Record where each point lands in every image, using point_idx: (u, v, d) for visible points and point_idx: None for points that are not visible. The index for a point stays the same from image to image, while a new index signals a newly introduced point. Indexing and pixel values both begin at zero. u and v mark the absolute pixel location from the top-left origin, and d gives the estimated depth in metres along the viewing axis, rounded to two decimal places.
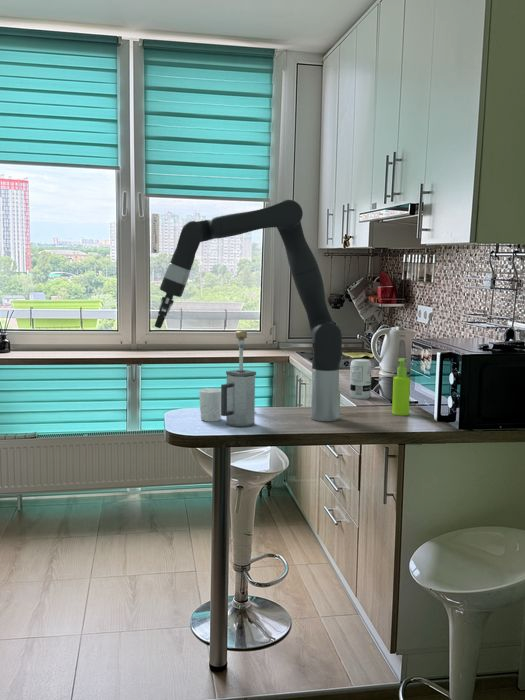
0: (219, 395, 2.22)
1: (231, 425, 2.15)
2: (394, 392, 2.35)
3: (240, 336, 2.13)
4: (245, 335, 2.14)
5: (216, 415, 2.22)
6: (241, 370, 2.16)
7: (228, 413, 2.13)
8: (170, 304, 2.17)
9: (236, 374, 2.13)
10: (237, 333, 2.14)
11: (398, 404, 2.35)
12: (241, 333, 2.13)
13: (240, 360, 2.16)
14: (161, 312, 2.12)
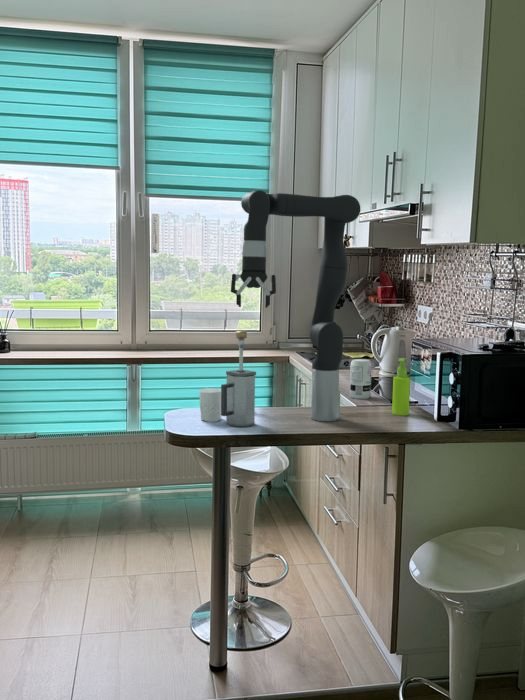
0: (219, 395, 2.22)
1: (231, 425, 2.15)
2: (394, 392, 2.35)
3: (240, 336, 2.13)
4: (245, 335, 2.14)
5: (216, 415, 2.22)
6: (241, 370, 2.16)
7: (228, 413, 2.13)
8: None
9: (236, 374, 2.13)
10: (237, 333, 2.14)
11: (398, 404, 2.35)
12: (241, 333, 2.13)
13: (240, 360, 2.16)
14: (275, 291, 2.11)
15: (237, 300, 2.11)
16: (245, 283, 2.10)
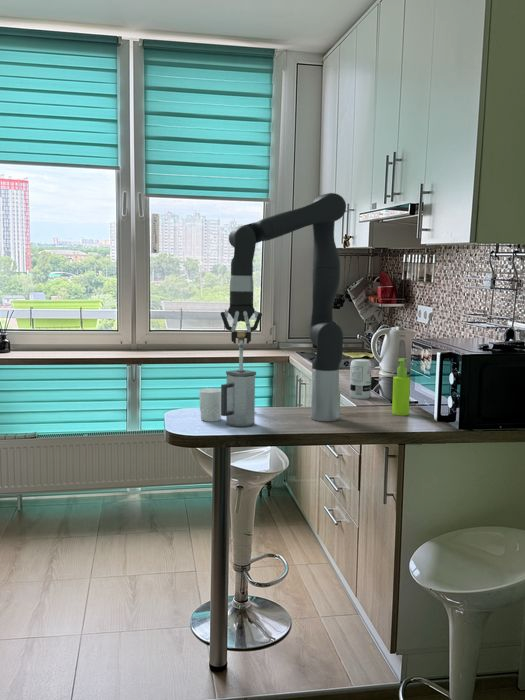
0: (219, 395, 2.22)
1: (231, 425, 2.15)
2: (394, 392, 2.35)
3: (240, 336, 2.13)
4: (245, 335, 2.14)
5: (216, 415, 2.22)
6: (241, 370, 2.16)
7: (228, 413, 2.13)
8: None
9: (236, 374, 2.13)
10: (237, 333, 2.14)
11: (398, 404, 2.35)
12: (241, 333, 2.13)
13: (240, 360, 2.16)
14: None
15: (232, 337, 2.14)
16: (235, 318, 2.13)
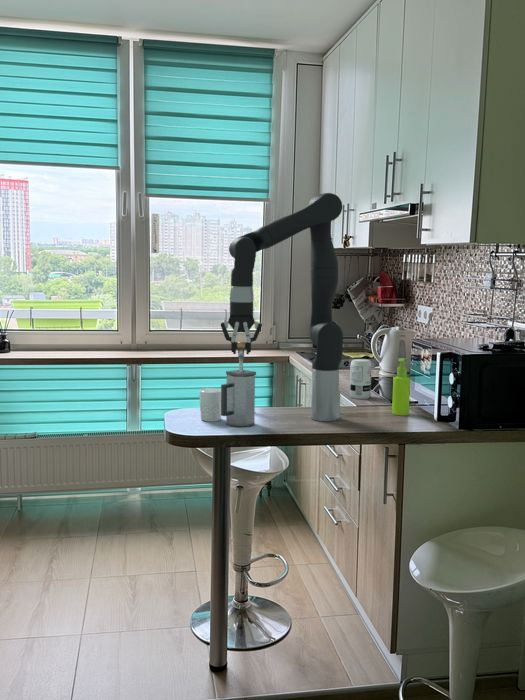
0: (219, 395, 2.22)
1: (231, 425, 2.15)
2: (394, 392, 2.35)
3: (240, 347, 2.14)
4: (245, 345, 2.14)
5: (216, 415, 2.22)
6: None
7: (228, 413, 2.13)
8: None
9: (236, 374, 2.13)
10: (237, 344, 2.14)
11: (398, 404, 2.35)
12: (241, 344, 2.14)
13: (240, 371, 2.16)
14: (256, 338, 2.15)
15: (232, 347, 2.15)
16: (235, 329, 2.13)
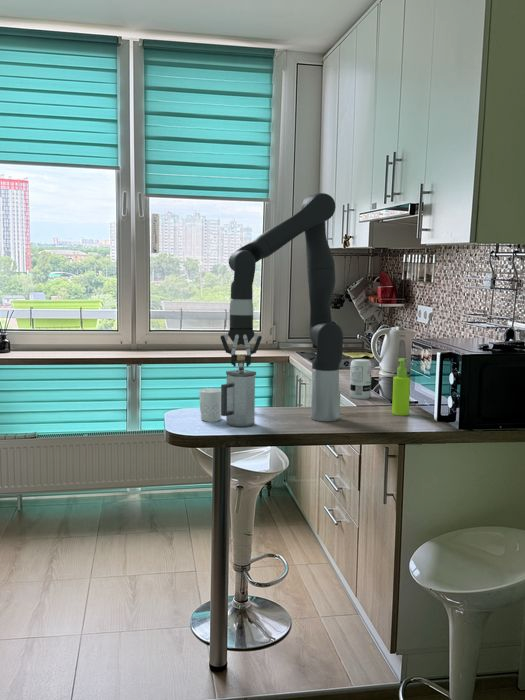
0: (219, 395, 2.22)
1: (231, 425, 2.15)
2: (394, 392, 2.35)
3: (240, 359, 2.14)
4: (245, 358, 2.15)
5: (216, 415, 2.22)
6: None
7: (228, 413, 2.13)
8: None
9: (236, 374, 2.13)
10: (237, 356, 2.15)
11: (398, 404, 2.35)
12: (241, 356, 2.14)
13: None
14: None
15: (232, 360, 2.15)
16: (235, 342, 2.14)
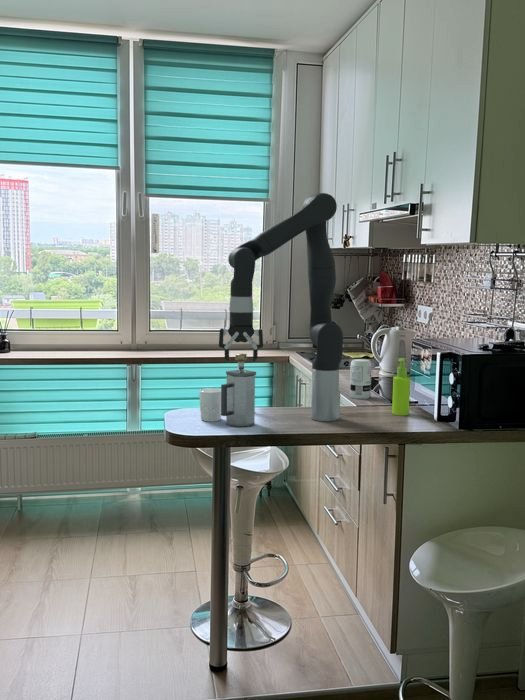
0: (219, 395, 2.22)
1: (231, 425, 2.15)
2: (394, 392, 2.35)
3: (240, 359, 2.14)
4: (245, 357, 2.15)
5: (216, 415, 2.22)
6: None
7: (228, 413, 2.13)
8: None
9: (236, 374, 2.13)
10: (237, 356, 2.15)
11: (398, 404, 2.35)
12: (241, 356, 2.14)
13: None
14: (262, 345, 2.15)
15: (225, 354, 2.15)
16: (233, 338, 2.13)
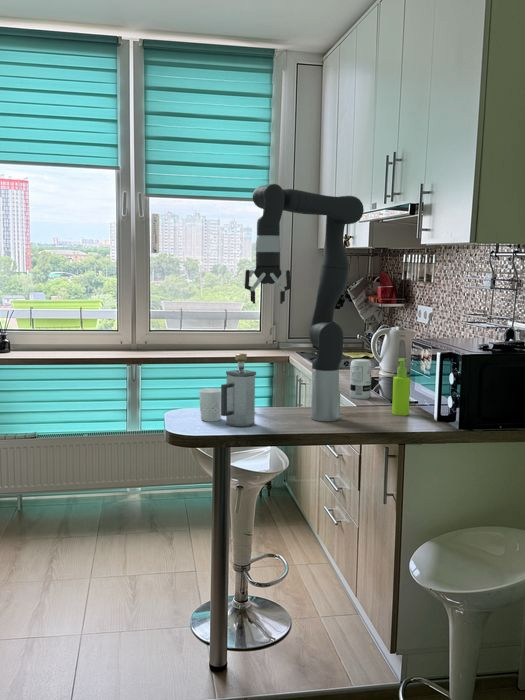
0: (219, 395, 2.22)
1: (231, 425, 2.15)
2: (394, 392, 2.35)
3: (240, 359, 2.14)
4: (245, 357, 2.15)
5: (216, 415, 2.22)
6: None
7: (228, 413, 2.13)
8: None
9: (236, 374, 2.13)
10: (237, 356, 2.15)
11: (398, 404, 2.35)
12: (241, 356, 2.14)
13: None
14: None
15: (251, 297, 2.07)
16: (259, 279, 2.05)
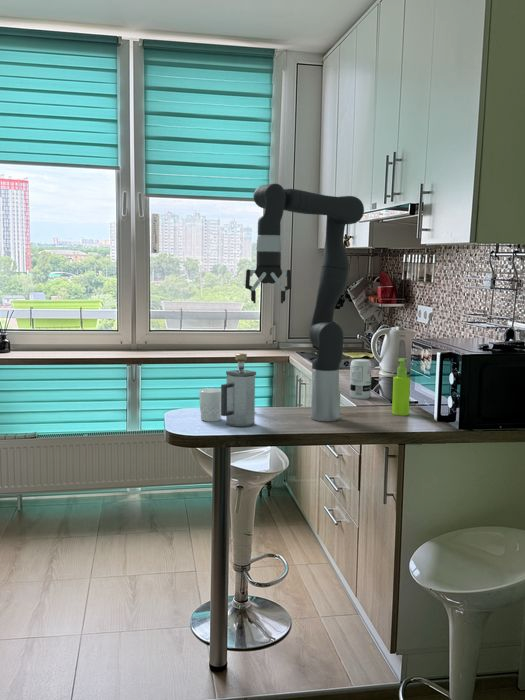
0: (219, 395, 2.22)
1: (231, 425, 2.15)
2: (394, 392, 2.35)
3: (240, 359, 2.14)
4: (245, 357, 2.15)
5: (216, 415, 2.22)
6: None
7: (228, 413, 2.13)
8: None
9: (236, 374, 2.13)
10: (237, 356, 2.15)
11: (398, 404, 2.35)
12: (241, 356, 2.14)
13: None
14: (290, 286, 2.07)
15: (252, 296, 2.07)
16: (260, 279, 2.05)
